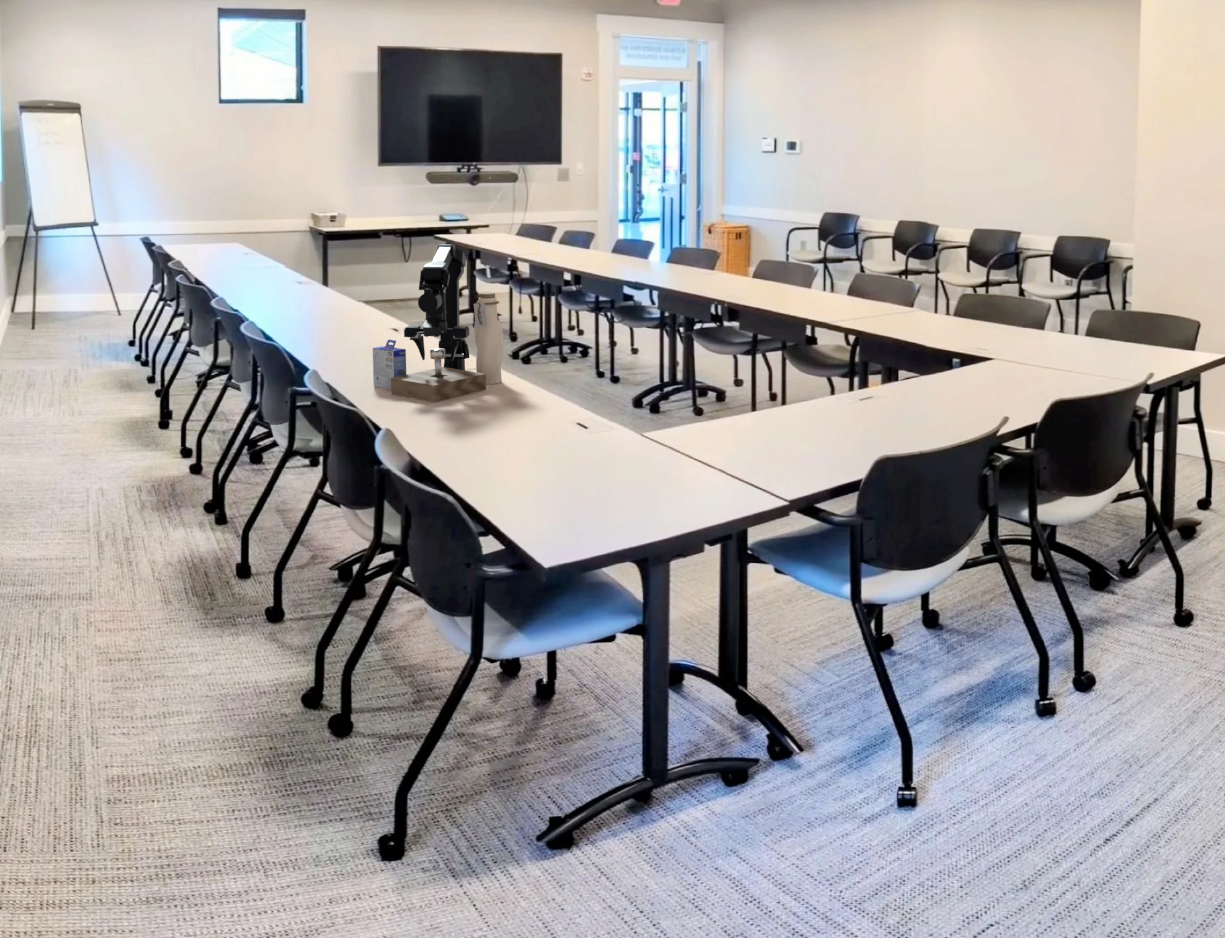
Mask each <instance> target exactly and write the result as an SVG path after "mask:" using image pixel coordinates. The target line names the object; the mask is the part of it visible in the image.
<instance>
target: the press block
mask: <svg viewBox="0 0 1225 938" xmlns="http://www.w3.org/2000/svg"><path fill="white" fill-rule="evenodd" d="M486 385H487V384H486V374H483V373H477V371H469V370H466V369H465V370H459V369H452V368H446V367H444V366H442V377H440V378H437V377H435V368H432V369H427V370H422V371H417V372H414V373H413V372H412V373H409V374H407V373H406V375H403V376H398V377H393V378H391V389H390V391H391V392H390V393H391V395H392V396H393V395H394V396H398V397H403V396H404V398H410V399H413V398H415V399H414V400H420V401H424V400H425V401H426V402H430V403H438V402H442V401H445V400H450V399H455V398H458V397H462V396H463V397H464V396H466V395H470V394H476V393H479V392H483V390H484V391H487V386H486ZM441 400H442V401H441Z"/></svg>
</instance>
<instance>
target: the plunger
mask: <svg viewBox="0 0 1225 938" xmlns="http://www.w3.org/2000/svg"><path fill="white" fill-rule="evenodd" d="M429 353H430V356H429V357H430V358H429V359H431V360H434V369H435V377H437V378H440V377H442V367H443V366H442V360H444V358H445V349H443V348H439V347H437V348H436V347H435V348H430V350H429Z"/></svg>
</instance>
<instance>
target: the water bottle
mask: <svg viewBox="0 0 1225 938" xmlns="http://www.w3.org/2000/svg"><path fill="white" fill-rule="evenodd" d="M477 299H478V300H477V301H476V302H475V303H473V309H474V326H473V330H474V331H473V332H474V333H473V334H474V340H475V345H476V348H477V349H476V360H475V361H476V362H475V363H476V364H475V368H476V372H477V373H483V374H486V385H496V384H495V383H498V384H500V383H499V382H501V383H502V381H503V380H502V368H501V367H502V360H503V356H504V355H503V353H504V332H503V327H502V325H501V322H500V321H499V320H498V304H500V301H499V300H497V297H496V292H493V291H490V292H489V291H484V292H482V291H481V292H479V296H478V298H477Z"/></svg>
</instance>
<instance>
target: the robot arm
mask: <svg viewBox="0 0 1225 938" xmlns="http://www.w3.org/2000/svg"><path fill="white" fill-rule="evenodd" d="M436 248H437V250H436V253H435V255H434V256H433V259H432V260H431V261H430V262H426V263H425V265H423V267H422V269H421V270H420V274H419V284H418V290H419V291H423V294H421V295H420V296H419V298H418V300H417V305H418V308H419V309H420V311H422V312H424V313H425V319H424V322H423V325H422V326H421V325H415V324H414V325H412V324H411V325H410V324H409V325H407V326H406V327H405V328H404V329H403V337H404V338H409V340H410V341H412V342H414V344H415V345H416V347H417V349H418V352H419V354H420V356H421V358H422V361H425V360H426V359H425V358H426V353H425V344H424V343H425V341H424V338H425V337H426V338H428V337H434V338H439V337H440V339H439V341H438V348H443V349H445V358H444V359H443V361H444V362H443V367H446V368H452V369H459V370H465V371H466V361H465V360H466V359H470V349H469V344H468V343H467V340H466V338H468V337H469V336H470V327H468V325H460V280H461V278H462V276H463V275H464V273H465V268H466V266H467V265H466V264H467V258H466V255H465V253H464V251H463V250H461V249H459V248H457V247H456V246H455V244H453V243H452V244H451V243H449V244H448V243H447V244H446V243H443V244H442V243H440V244H437V247H436Z"/></svg>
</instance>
